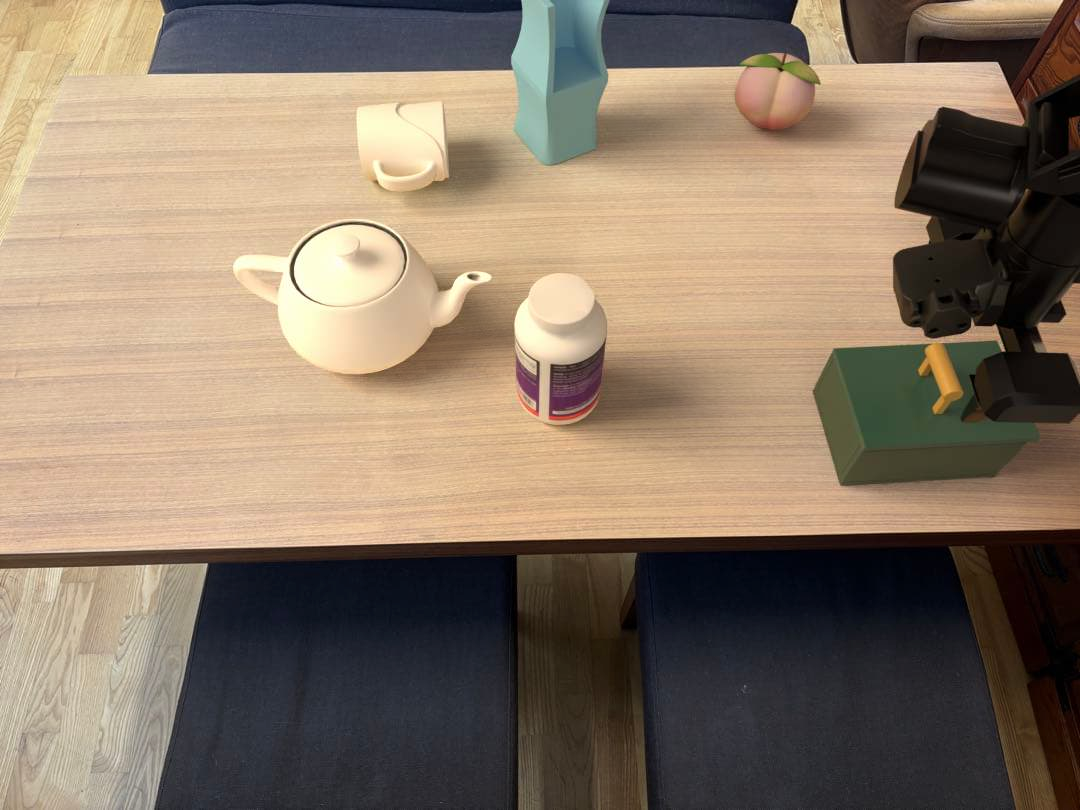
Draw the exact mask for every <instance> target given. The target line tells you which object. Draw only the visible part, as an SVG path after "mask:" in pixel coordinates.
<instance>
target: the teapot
mask: <svg viewBox="0 0 1080 810" xmlns="http://www.w3.org/2000/svg"><path fill="white" fill-rule="evenodd" d="M232 269H233V274H234V275H235V277H236V279H237V280H238V282H239V283H240V284H242V286H243V287H244V288H246V289H247V290H248V291H249V292H251V293H253V294H254V295H256V296H257V297H259V298H260V299H262V300H264V301H267V302H268V303H271V304H274V305H276V306H277V314H278V320H279V324H280V327H281V331H282V334H283V335H284V337H285V339H286V341H287V343H288V344H289V346H290V347H291V349H293V350H294V352H295V353H297V355H298V356H299V357H301V358H303V360H305V361H307V362H308V363H310V364H311V365H313V366H315V367H317V368H321V369H323V370H326V371H327V372H328V371H329V372H333V373H337V374H343V375H344V374H345V375H365V374H372V373H377V372H381V371H384V370H387V369H391V368H392V367H394V366H397V365H399V364H401V363H403V362H404V361H406V360H407V359H408V358H410V357H411V356H413V355H414V354H415V353H417V351H419V349H421V347H423V345H425V343H426V342H427V341H428V339H429V337H430V335H431V334H432V333H433V331H434V328H440V327H443V326H445V325H449V324H450V323H451V322H452V321H453V320H454V319H456V317H457V316H458V315H459V314H460V312H461V310H462V307H463V305H464V302H465V299H466V297H467V295H468V293H469V291H471V289H472V288H474V287H476V286H479V285H481V284H485V283H488V282H490V281H491V280H492V279H493V277H492V275H491V274H490V273H488V272H486V271H478V270H477V271H475V270H473V271H467V272H464V273H463V274H461V275H459V276H457V278H456V279H455V280H454V282H453V285H452V287H451V288H449V289H447V290H439V287H438V284H437V282H436V279H435V277H434V274H433V272H432V269H431V268H430V266H429V265H428V264H427V262H426V261H425V259H424V258H423V256H422V255H421V253H420V252H419V251H418V250H417V249H416V247H414V246H413V245H412V244H411V243H410V242H409V240H407V239H406V237H404V236H403V235H402V234H401V233H400V232H398V231H397V230H396V229H395V228H393V227H391V226H389V225H388V224H385V223H383V222H380V221H376V220H372V219H366V218H343V219H338V220H334V221H330V222H327V223H325V224H322V225H320V226H318V227H315V228H314V229H313V230H311V231H309V232H308V233H307V234H305V235H304V236H303V237H302V238H300V239H299V241H298V242H297V243H296V244H295V245H294V246H293V248H292V250H291V251H290V254H289V255H288V256H280V255H279V256H278V255H270V254H245V255H241V256H239V257H238V258H236V260H235V261H234V263H233V267H232ZM253 271H265V272H275V273H283V274H282V277H281V280H280V284H279V288H277V287H275V286H273V285H271V284H270V283H268V282H266V281H264V280H263V279H262V278H260V277H259V276H258V275H256V274H255V273H254V272H253Z"/></svg>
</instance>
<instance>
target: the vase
mask: <svg viewBox="0 0 1080 810" xmlns="http://www.w3.org/2000/svg"><path fill="white" fill-rule="evenodd" d="M610 1H611V0H521V8H522V10H521V11H522V20H521V27H520V28H521V29H520V32H519V36H518V39H517V42H516V45H515V47H514V49H513V52H512V55H511V56H510V60H511V61H510V62H511V64H510V65H511V67H512V71H513V76H514V79H515V83H516V88H517V95H518V106H517V107H518V108H517V112H516V118H515V122H514V125H513V128H512V130H513V132H515V134H516V135H517V137H519V139H520V140H521V142H523V144H524V145H525V146H526V147H527V149H528V150H529V151H530V153H532V155H533V156H534V157H535V158H536V159H537V161H538V162H540V163H541V164H542V165H547V166H554V165H557V164H560V163H563V162H566V161H568V160H571V159H573V158H576V157H578V156H582V155H583V154H586V153H590V152H592V151H593V150H596V149H597V147H598V137H597V128H596V127H597V114H598V110H599V106H600V103H601V101H602V97H603V95H604V92H605V91H606V88H607V86H608V83H609V72H608V68H607V64H606V61H605V57H604V53H603V46H602V28H603V24H604V23H603V22H604V18H605V16H606V11H607V9H608V6H609V3H610Z"/></svg>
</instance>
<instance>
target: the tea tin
mask: <svg viewBox="0 0 1080 810" xmlns="http://www.w3.org/2000/svg"><path fill="white" fill-rule="evenodd" d="M812 394H813V397H814V401H815V404H816V408H817V411H818V414H819V417H820V422H821V424H822V429H823V431H824V435H825V438H826V442H827V446H828V449H829V452H830V457H831V459H832V462H833V466H834V469H835V472H836V476H837V480H838V482H839V486H856V485H857V486H859V485H875V484H892V483H894V484H895V483H910V482H928V481H929V482H930V481H945V480H946V481H947V480H948V481H949V480H963V479H964V480H965V479H980V478H995V477H996V476H997V475H998V474H999V473H1000V472H1001V471H1002V470H1003V469H1004V468H1005V467H1006V466H1007V465H1008V464H1009V463H1010V461H1012V460H1013V458H1014V457H1015V456H1016V455H1017V454H1018V453H1019V452H1020V451H1021V450H1022V449H1023V448H1024V447H1025V446H1026V445H1027V444H1028V442H1024V443H1005V444H987V445H968V446H950V447H932V448H913V449H895V450H876V451H863V450H862V447H861V444H860V441H859V437H858V434H857V431H856V428H855V425H854V422H853V418H852V415H851V412H850V409H849V406H848V403H847V399H846V396H845V393H844V390H843V387H842V383H841V380H840V377H839V374H838V371H837V368H836V364H835V361H834V358H833V355H832V352H831V353H830V355H829V357H828V359H827V360H826V362H825V365H824V367H823V368H822V371H821V373H820V375H819V376H818V379H817V381H816V383H815V385H814V387H813V389H812Z"/></svg>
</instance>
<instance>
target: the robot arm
mask: <svg viewBox="0 0 1080 810" xmlns="http://www.w3.org/2000/svg"><path fill="white" fill-rule="evenodd" d="M1025 108H1026V110H1025V120H1024V121H1023V123H1022V125H1018V124H1014V123H1009V122H1005V121H999V120H995V119H989V118H986V117H980V116H976V115H973V114H970V113H968V112H967V111H964V110H960V109H957V108H952V107H947V106H941V107H938V108H937V111H936V112H935V115H934V117H933V119H929V120H927V121H926V122H925V124H924V126H923V127H922V129H921V130H919V129H918V130H917V131H916V134H915V135H914V137H913V140H912V142H911V145H910V148H909V149H908V152H907V154H906V157H905V160H904V163H903V166H902V169H901V171H900V175H899V179H898V182H897V186H896V190H895V195H894V204H893V207H894V209H897V210H901V211H906V212H909V213H914V214H918V215H922V216H927V217H930V218H929V220H928V222H927V224H926V225H925V229H926V233H927V235H928V239H929V240H928V243H926V244H921V245H916V246H912V247H907V248H902V249H900V250H899V251H897V252H895V254H894V255H893V257H892V289H893V293H894V295H895V299H896V303H897V307H898V310H899V316H900V319H901V321H902V323H903V324H904V325H905V326H907V327H910V328H914V329H915V328H920V329H922V331H923V335H924V337H925V338H928V339H931V340H934V339H940V338H946V337H952V336H957V335H962V334H965V333H966V332H968V331H969V330H970V329H971V328H972V324H973V325H974V327H988V328H989V327H994V326H996V329H997V332H998V335H999V337H1000V339H1001V343H1002V346H1003V349H1004V351H1003V350H1002V352H1000V353H997V354H995V355H992V356H990V357H987V358H985V359H983V360H982V361H981V363H980V364H979V365H978V366H977V368H976V374H969V378H970V381H971V385H972V388H973V391H974V395H973V396H972V398H971V399H970V401H969V402H968V404H967V405H966V407H965V409H964V411H963V413H962V415H961V417H960V419H961V422H964V423H975V422H978V421H982V420H985V419H988V418H989V419H991V420H992V421H994V422H1022V423H1035V424H1068V425H1070V424H1071V423H1072V422H1073V420H1075V419H1076V418H1077V417H1078V416H1079V415H1080V373H1079V371H1078V368H1077V365H1076V363H1075V361H1074V359H1072V357H1071V356H1070V354H1069V353H1068V352H1047V349H1046V346H1045V343H1044V340H1043V337H1042V335H1041V333H1040V329H1039V328H1038V327H1039V326H1038V325H1039V324H1040V323H1042V324H1060V322H1061V321H1062V320H1063V319H1064V318H1065V317H1066V316H1067V310H1066V308H1065V306H1064V304H1063V302H1062V299H1063V298H1064V296H1065V295H1066V294H1067V293H1068V292H1069V290H1071V288H1072V286H1073V285H1075V284H1077V285H1079V284H1080V148H1070V119H1073V118H1077V117H1080V73H1079V74H1076V75H1075V76H1072V77H1071V78H1069V79H1067V80H1065V81H1063V82H1061V83H1059V84H1058V85H1056V86H1054V87H1052V88H1051V89H1048V90H1046V91H1044V92H1042V93H1040V94H1039V95H1037V96H1036V97H1034V98H1031V99H1030V100H1028V101H1027V103H1026V106H1025ZM972 322H973V323H972Z"/></svg>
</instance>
